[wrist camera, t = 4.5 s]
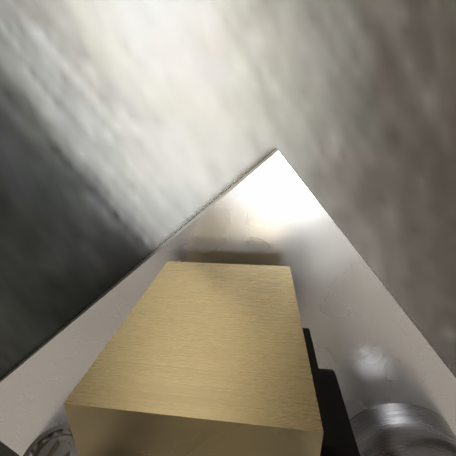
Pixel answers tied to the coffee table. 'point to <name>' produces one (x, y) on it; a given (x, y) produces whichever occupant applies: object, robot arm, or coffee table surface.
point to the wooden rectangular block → (203, 370)
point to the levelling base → (308, 309)
